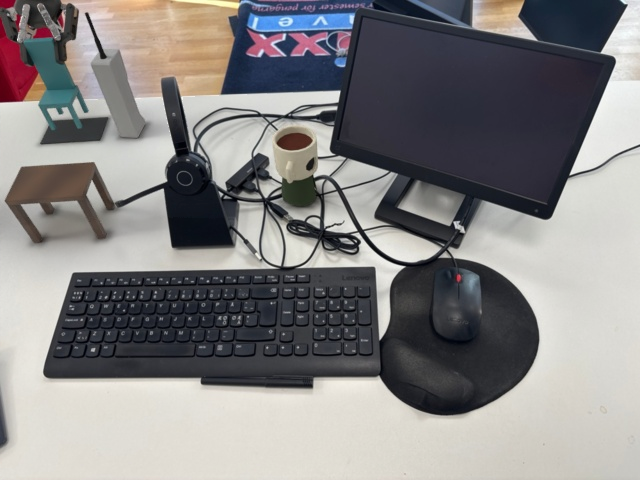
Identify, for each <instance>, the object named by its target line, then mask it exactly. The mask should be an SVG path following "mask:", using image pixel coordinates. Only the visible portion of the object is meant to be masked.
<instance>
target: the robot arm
mask: <svg viewBox="0 0 640 480" xmlns="http://www.w3.org/2000/svg"><path fill="white" fill-rule="evenodd" d="M62 14H63V15H64V25H63V27H62V25H61V24H60V21H59V19H60V17H61V15H62ZM17 15H18V16H19V17H20V20H19V25H17V23H16V21H17V20H18V17H17ZM79 15H80V9H79V8H78V7H77V6H75V5H74V4H73V3H71V2H68V3H67V4H66V3H63V2H62V1H61V0H15V2H14V4H13V6H11V7H9V8H5V7H3V6H0V19H1V22H2V25H3V28H4V32H5V34H6V38H7V39H8V40H9V41H11V42H13V43H15V44H18V46H19V55H20V60H21V62H22V63H23V64H24V66H27V67H29V68H31V67H34V66H35V65H34V63H33V61H32V59H31V57H30V55H29V53H28V51H27V49H26V47H25V45H24V43H23V42H24V40H25V39H34V36H36V34H37V30H40V29H43V28H45V29H48V30H50V32H51V35H52V37H53V38H54V40H55V42H54V52H55V61H56V63H58V64H60V65H64V64H66V62H67V61H68V53H67V43H68V42H70V41H75V40H76V39H77V34H78V24H79Z"/></svg>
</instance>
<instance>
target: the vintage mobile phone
mask: <svg viewBox="0 0 640 480" xmlns="http://www.w3.org/2000/svg"><path fill="white" fill-rule="evenodd" d="M84 16H85V19H86V21H87V24H88V25H89V28H90V31H91V34H92V36H93V40H94V43H95V45H96V48H97V50H98V52H97V53H96V55H95V56H94V57H93V59H92V60H91V62H90V67H91V69H92V73H93V75H94V77H95V79H96V81H97V84H98V86H99V89H100V92H101V93H102V96H103V100H104V101H105V103H106V105H107V108H108V110H109V114H110V116H111V118H112V120H113V122H114V125H115V128H116V130H117V132H118V135H119V137H120V138H127V139H128V138H131V139H138V138H139V136H140V135H141V133H142V131H143V128H144V127H145V126H146V119H145V118H144V117H143V115H142V114H141V113H140V111H139V107H138V104H137V102H136V100H135V96H134V94H133V91H132V87H131V85H130V82H129V78H128V72H127V69H126V66H125V63H124V59H123V56H122V52H121V50H120V48H103V45H102V42H101V39H100V38H99V37H98V35H97V32H96V29H95V26H94V24H93V21H92V19H91V16H90V13H89V12H88V11H87V12H86V11H85V12H84Z"/></svg>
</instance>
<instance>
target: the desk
mask: <svg viewBox="0 0 640 480" xmlns="http://www.w3.org/2000/svg"><path fill="white" fill-rule="evenodd" d="M91 183H93V185H94V187H95V189H96V191H97V193H98V195H99V197H100V199H101V201H102V203H103V205H104V207H105V209H106V210H107V211H111V210H113V211H114V209H115V206H116V204H115V202H114V200H113V198H112V196H111V193H110V192H109V189H108V187H107V185H106V183H105V181H104V179H103V177H102V175H101V173H100V171H99V169H98V166H97V164H96V162H95V161H88V162H73V163H56V164H41V165H27V166H26V165H25V166H20V168H19V170H18V172H17V174H16V177H15V178H14V180H13V183H12V184H11V187H10V189H9V191H8V193H7V195H6V196H5V199H4V202H5V203H4V204H6V206H7V207H8V208H9V210H10V211H11V213H12V214H13V215H14V217H15V218H16V219H17V221H18V222H19V224H20V225H21V227H22V228H23V230H24V231H25V233H27V236H28V237H29V238H30V240H31V241H32V242H33V243H34V244H40V243H42V241H43V238H44V237H43V236H42V234H41V233H40V231H39V229H38V228H37V226H36V225H35V223H34V222H33V220H32V219H31V217H30V216H29V214H28V213H27V212H26V210H25V209H24V208H23V207H24V206H22V205H33V204H34V205H35V204H39V205H40V207H41V209H42V210H43V212H44V213H45V214H46V215H49V214H50V215H51V214H53V213H54V211H55V207H54V206H53V204H52V203H66V202H77V203H78V205H79V207H80V209H81V210H82V212H83V214H84V216H85V218H86V219H87V221H88V223H89V225H90V227H91V228H92V230H93V232H94V234H95V236H96V237H97V239H98V240H101V239H106V236H107V231H106V229H105V227H104V226H103V224H102V222H101V220H100V218H99V216H98V214H97V212H96V210H95V208H94V206H93V205H92V203H91V201H90V199H89V197H88V192H89V189H90V185H91Z"/></svg>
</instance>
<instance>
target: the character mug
mask: <svg viewBox="0 0 640 480" xmlns="http://www.w3.org/2000/svg"><path fill="white" fill-rule="evenodd" d="M317 139H318V138H317V134H316V132H315V131H314V130H313V129H312V128H310V127H308V126H305V125H301V124H289V125H286V126H283V127H280V128H279V129H277V130H276V131H275V133H274V134H273V135H272V139H271V141H272V151H273V152H272V153H273V159H274V166H275V171H276V172H277V174H278V175H279V177H281V197H282V200H283V201H284V202H285V203H286V204H287V205H291V206H295V207H306V206H309V205H312V204H313V202H315V201H316V200H317V192H318V187H317V183H316V179H315V177H314V174H316V172H317V171H318V168H319V157H318V155H319V153H318V140H317Z"/></svg>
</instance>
